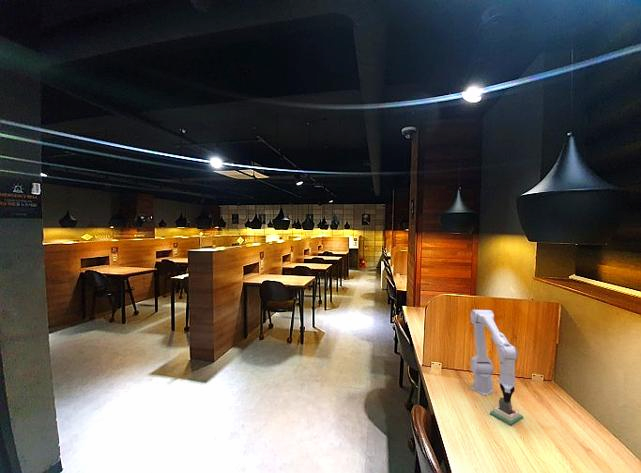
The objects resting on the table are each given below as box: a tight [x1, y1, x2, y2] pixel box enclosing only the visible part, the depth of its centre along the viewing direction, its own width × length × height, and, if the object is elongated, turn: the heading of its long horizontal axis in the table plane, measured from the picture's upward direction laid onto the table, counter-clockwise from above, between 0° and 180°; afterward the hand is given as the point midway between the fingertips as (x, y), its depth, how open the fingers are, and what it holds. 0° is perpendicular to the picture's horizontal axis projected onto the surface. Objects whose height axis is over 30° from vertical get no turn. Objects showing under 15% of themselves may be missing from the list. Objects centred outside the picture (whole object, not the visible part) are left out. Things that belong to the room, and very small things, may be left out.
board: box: [489, 409, 524, 427], centre depth 128 cm, size 11×9×1 cm
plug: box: [498, 396, 517, 415], centre depth 128 cm, size 4×6×6 cm
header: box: [493, 405, 520, 421], centre depth 128 cm, size 7×7×2 cm
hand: (507, 401), depth 128 cm, fingers closed, pressing on plug
